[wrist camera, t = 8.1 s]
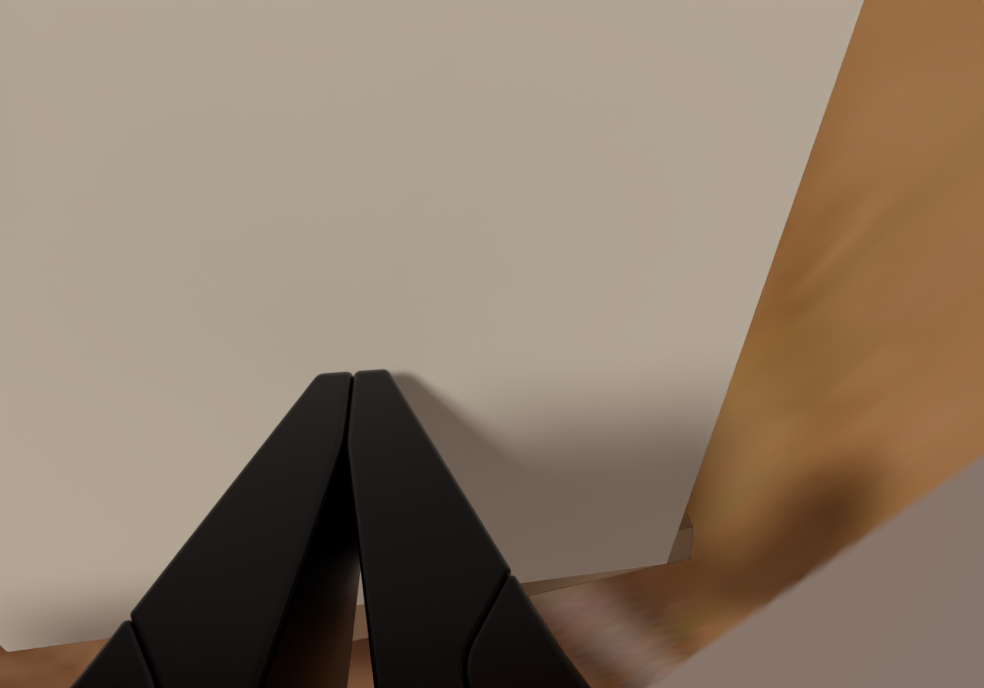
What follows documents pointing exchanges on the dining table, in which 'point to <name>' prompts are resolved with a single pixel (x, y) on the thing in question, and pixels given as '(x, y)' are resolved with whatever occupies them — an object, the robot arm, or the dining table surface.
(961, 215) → the dining table surface
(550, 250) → the white flat box
